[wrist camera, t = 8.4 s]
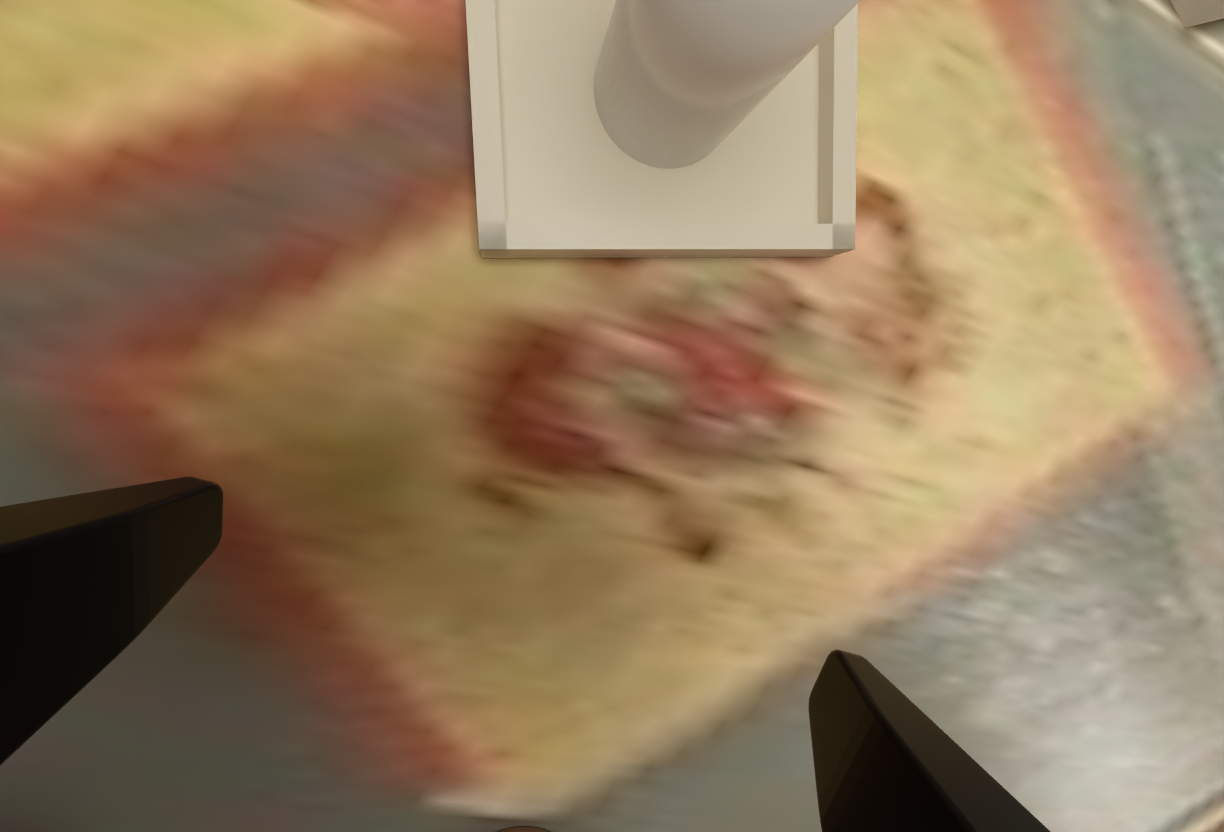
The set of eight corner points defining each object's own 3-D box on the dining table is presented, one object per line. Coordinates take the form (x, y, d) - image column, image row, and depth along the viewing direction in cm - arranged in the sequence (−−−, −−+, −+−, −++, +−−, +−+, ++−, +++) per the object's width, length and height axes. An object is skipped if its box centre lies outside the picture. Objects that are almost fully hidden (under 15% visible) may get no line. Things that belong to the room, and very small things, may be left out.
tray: (481, 258, 18) (478, 249, 17) (463, -85, 17) (458, -126, 16) (829, 257, 20) (854, 248, 19) (832, -50, 19) (859, -84, 18)
